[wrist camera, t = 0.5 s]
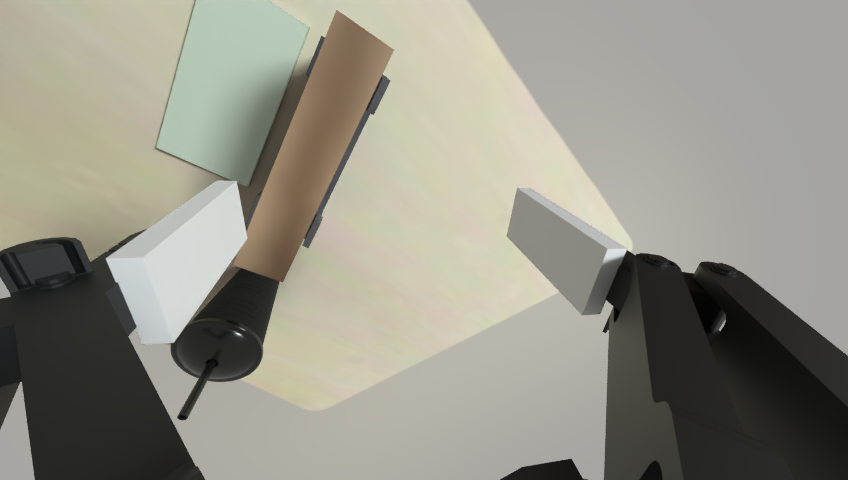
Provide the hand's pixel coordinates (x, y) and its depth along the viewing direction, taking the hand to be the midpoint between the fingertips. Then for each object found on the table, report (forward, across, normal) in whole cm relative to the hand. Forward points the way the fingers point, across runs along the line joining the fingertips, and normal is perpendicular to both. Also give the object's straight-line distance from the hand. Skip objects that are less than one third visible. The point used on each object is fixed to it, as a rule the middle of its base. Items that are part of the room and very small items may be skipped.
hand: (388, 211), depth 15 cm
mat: (+24, -14, +4) cm, 28 cm away
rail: (+16, -5, -1) cm, 17 cm away
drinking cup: (+24, -14, -18) cm, 34 cm away
